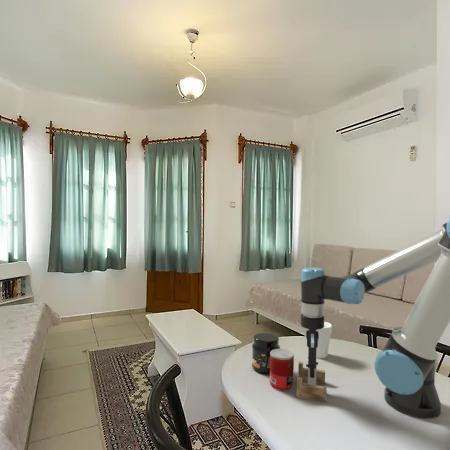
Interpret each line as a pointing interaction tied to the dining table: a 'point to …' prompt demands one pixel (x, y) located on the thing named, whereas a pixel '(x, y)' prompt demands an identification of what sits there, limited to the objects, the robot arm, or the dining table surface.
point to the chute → (310, 390)
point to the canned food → (281, 369)
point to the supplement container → (263, 351)
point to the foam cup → (323, 340)
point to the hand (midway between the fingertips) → (311, 385)
